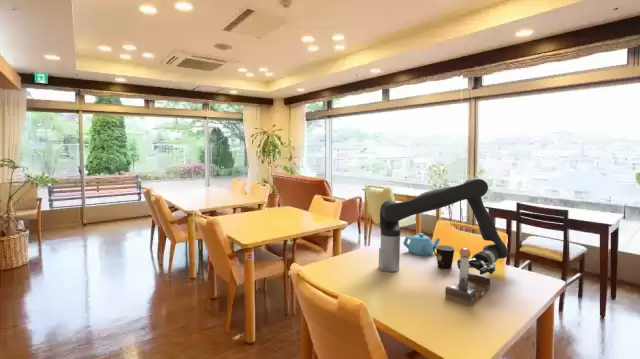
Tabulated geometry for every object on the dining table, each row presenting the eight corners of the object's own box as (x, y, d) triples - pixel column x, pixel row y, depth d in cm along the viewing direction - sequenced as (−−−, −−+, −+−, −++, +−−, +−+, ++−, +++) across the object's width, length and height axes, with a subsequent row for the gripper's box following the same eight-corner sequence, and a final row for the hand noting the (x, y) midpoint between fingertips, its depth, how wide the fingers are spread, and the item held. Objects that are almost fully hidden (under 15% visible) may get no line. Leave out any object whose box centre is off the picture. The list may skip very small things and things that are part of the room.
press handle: (470, 298, 136) (473, 251, 134) (450, 292, 142) (452, 247, 140) (475, 294, 140) (478, 248, 138) (455, 288, 145) (457, 244, 143)
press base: (471, 306, 134) (472, 295, 133) (445, 298, 141) (445, 287, 140) (491, 289, 150) (491, 278, 149) (466, 282, 157) (466, 272, 156)
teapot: (417, 246, 209) (418, 228, 208) (440, 253, 197) (441, 234, 196) (401, 251, 199) (401, 233, 198) (424, 258, 188) (425, 239, 186)
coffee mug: (456, 270, 171) (457, 250, 170) (438, 270, 171) (439, 250, 170) (448, 262, 182) (449, 243, 181) (431, 262, 182) (432, 243, 181)
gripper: (467, 248, 161) (453, 256, 149) (501, 255, 151) (488, 265, 139) (466, 264, 162) (452, 273, 150) (500, 272, 152) (487, 283, 140)
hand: (469, 269), depth 145 cm, fingers open, 8 cm apart
